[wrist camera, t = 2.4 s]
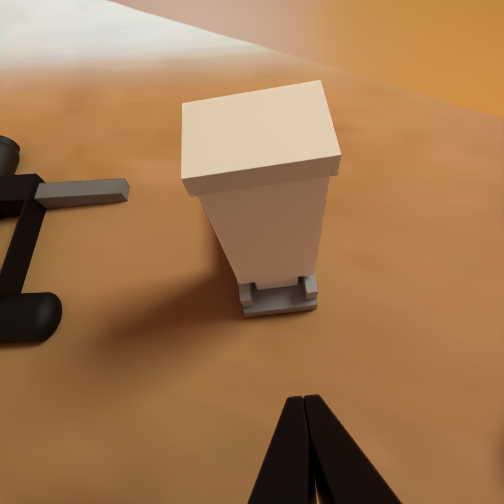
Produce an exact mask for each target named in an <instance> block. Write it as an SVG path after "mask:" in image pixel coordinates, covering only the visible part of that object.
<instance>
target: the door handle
mask: <svg viewBox="0 0 504 504" xmlns="http://www.w3.org/2000/svg"><path fill="white" fill-rule="evenodd" d="M19 151H20V147H19V145H18V144H17V143H16V142H14V141H13V140H11V139H9V138H7V137H4V136H1V135H0V218H6V217H16V216H19V219H18V222H17V225H16V228H15V231H14V234H13V237H12V240H11V243H10V246H9V249H8V252H7V255H6V257H5V260H4V263H3V266H2V269H1V270H0V343H16V342H39V341H43V340H46V339H47V338H49V337H50V336H51V335H52V334H53V333H54V332H55V331H56V329H57V327H58V325H59V323H60V320H61V316H62V305H61V302H60V300H59V298H58V297H57V296H56V295H55V294H53V293H50V292H43V293H21V291H22V288H23V284H24V281H25V278H26V274H27V271H28V268H29V265H30V261H31V258H32V255H33V251H34V248H35V245H36V241H37V238H38V235H39V231H40V228H41V225H42V222H43V218H44V215H45V212H46V209H48V208H59V207H69V206H80V205H90V204H100V203H111V202H121V201H127V199H128V194H129V188H130V186H129V184H128V183H127V181H126V180H125V178H118V179H102V180H86V181H70V182H54V183H46V182H44V181H43V180H42V179H41V178H40V177H39V176H38V175H37V174H22V175H14V173H15V171H16V168H17V165H18V163H19Z"/></svg>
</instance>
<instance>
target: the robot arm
mask: <svg viewBox="0 0 504 504" xmlns="http://www.w3.org/2000/svg"><path fill="white" fill-rule="evenodd" d="M314 477H315V478H314ZM315 484H316V487H315ZM316 490H317V495H318V499H319V504H402V502H401V501H400V500H399V499H398V497H397V496H396V495H395V493H394V492H393V491H392V489H391V488H390V487H389V485H388V484H387V483H386V481H385V480H384V479H383V478H382V476H381V475H380V474H379V472H378V471H377V470H376V468H375V467H374V466H373V464H372V463H371V462H370V460H369V459H368V458H367V457H366V455H365V454H364V453H363V451H362V450H361V449H360V447H359V446H358V445H357V443H356V442H355V441H354V440H353V438H352V437H351V436H350V434H349V433H348V432H347V430H346V429H345V428H344V426H343V425H342V424H341V422H340V421H339V420H338V419H337V417H336V416H335V415H334V413H333V412H332V411H331V409H330V408H329V407H328V405H327V404H326V403H325V401H324V400H323V399H322V398H321V396H320V395H318V394H316V395H306V396H304V399H303V397H302V396H294V397H288V398H287V400H286V402H285V405H284V407H283V410H282V413H281V415H280V418H279V421H278V423H277V426H276V429H275V431H274V434H273V437H272V439H271V442H270V445H269V447H268V450H267V453H266V455H265V458H264V461H263V463H262V466H261V469H260V471H259V474H258V477H257V479H256V482H255V485H254V487H253V490H252V493H251V495H250V498H249V501H248V503H247V504H317V497H316Z"/></svg>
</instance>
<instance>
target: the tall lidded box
mask: <svg viewBox="0 0 504 504" xmlns="http://www.w3.org/2000/svg"><path fill="white" fill-rule="evenodd" d="M340 159H341V152H340V149H339V145H338V141H337V138H336V134H335V130H334V127H333V123H332V120H331V116H330V112H329V109H328V105H327V102H326V98H325V94H324V91H323V87H322V83H321V80H318V81H312V82H306V83H300V84H294V85H288V86H282V87H276V88H270V89H264V90H258V91H252V92H246V93H240V94H234V95H229V96H223V97H217V98H211V99H205V100H199V101H193V102H187V103H182V159H181V180H182V182H183V183H184V185H185V187H186V189H187V191H188V193H189V195H190V197H192V196H198V197H199V199H200V202H201V204H202V206H203V208H204V210H205V212H206V214H207V216H208V219H209V221H210V223H211V225H212V227H213V229H214V231H215V233H216V236H217V238H218V240H219V242H220V244H221V246H222V248H223V250H224V253H225V255H226V257H227V259H228V261H229V263H230V265H231V267H232V270H233V272H234V274H235V276H236V278H237V280H238V282H239V284H244V283H252V282H255V284H256V287H257V290H262V289H270V288H278V287H287V286H295V285H298V277H300V276H308V275H314V272H315V265H316V259H317V253H318V246H319V240H320V234H321V227H322V221H323V215H324V208H325V202H326V196H327V190H328V183H329V177H330V176H335V175H337V174H338V169H339V164H340Z"/></svg>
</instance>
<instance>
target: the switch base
mask: <svg viewBox="0 0 504 504" xmlns="http://www.w3.org/2000/svg"><path fill="white" fill-rule="evenodd" d="M237 284H238V286H239V295H240V302H241V304H242V306H243V308H244V314H245V316H246V317H254V316H263V315H271V314H280V313H289V312H297V311H306V310H314V309H316V308H317V300H316V298H317V294H318V289H317V284H316V278H315V273H314V275H308V276H300V277H298V285H295V286H287V287H278V288H270V289H262V290H257V287H256V284H255V282H252V283H244V284H239V282H238V280H237Z"/></svg>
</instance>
